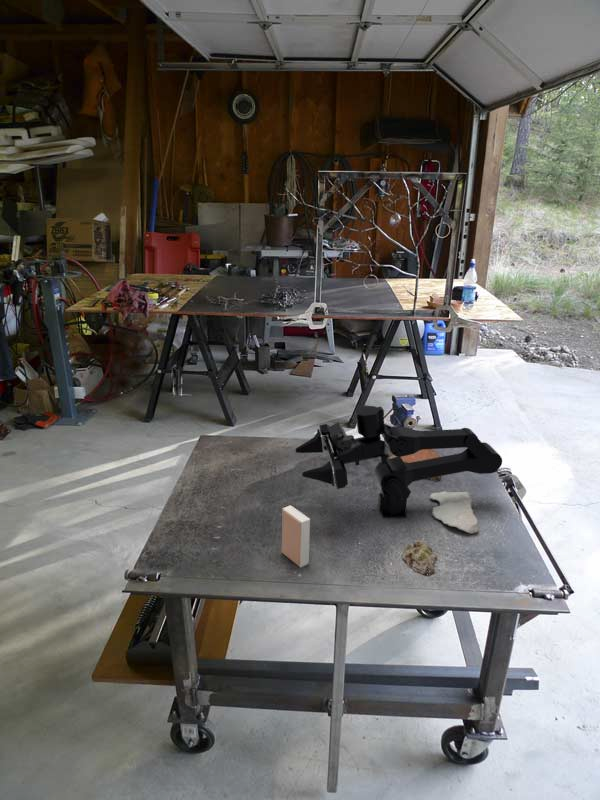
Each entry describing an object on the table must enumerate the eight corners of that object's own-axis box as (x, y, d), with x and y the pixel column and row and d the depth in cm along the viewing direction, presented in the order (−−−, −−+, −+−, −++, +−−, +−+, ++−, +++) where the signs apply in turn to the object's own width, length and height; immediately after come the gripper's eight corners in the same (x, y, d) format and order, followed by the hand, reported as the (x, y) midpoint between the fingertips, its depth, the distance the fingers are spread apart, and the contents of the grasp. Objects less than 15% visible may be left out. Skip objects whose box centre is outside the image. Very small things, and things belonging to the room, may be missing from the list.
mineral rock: (395, 541, 142) (427, 531, 142) (398, 555, 144) (430, 545, 144) (408, 571, 132) (443, 561, 132) (411, 586, 134) (446, 576, 134)
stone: (466, 485, 166) (494, 521, 147) (465, 498, 167) (493, 535, 148) (421, 489, 165) (443, 525, 146) (420, 502, 166) (442, 540, 147)
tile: (289, 548, 142) (290, 505, 137) (308, 563, 137) (310, 518, 132) (281, 552, 140) (281, 508, 136) (299, 567, 135) (301, 522, 131)
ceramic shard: (393, 438, 187) (441, 450, 185) (388, 457, 189) (436, 469, 187) (392, 454, 173) (443, 466, 171) (386, 474, 175) (438, 487, 173)
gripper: (348, 402, 152) (288, 414, 151) (368, 448, 137) (301, 462, 136) (351, 435, 158) (294, 448, 157) (371, 483, 143) (307, 497, 142)
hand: (298, 462), depth 148 cm, fingers open, 9 cm apart
